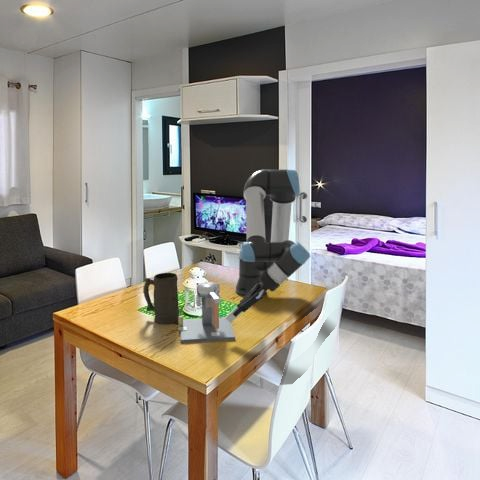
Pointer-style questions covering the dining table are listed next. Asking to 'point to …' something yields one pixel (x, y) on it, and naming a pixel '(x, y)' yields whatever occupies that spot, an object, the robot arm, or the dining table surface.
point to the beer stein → (163, 297)
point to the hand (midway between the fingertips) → (228, 319)
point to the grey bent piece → (210, 299)
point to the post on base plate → (205, 328)
